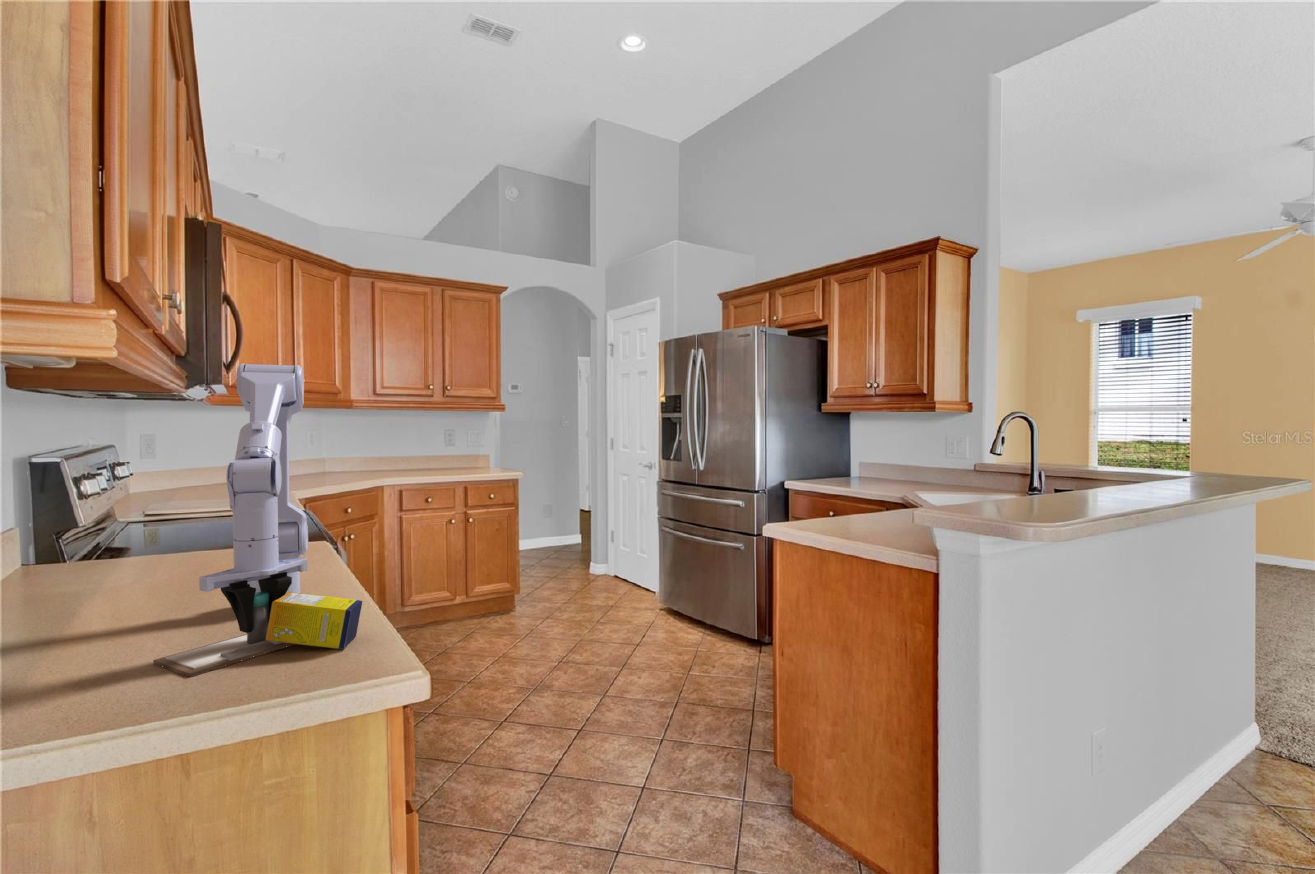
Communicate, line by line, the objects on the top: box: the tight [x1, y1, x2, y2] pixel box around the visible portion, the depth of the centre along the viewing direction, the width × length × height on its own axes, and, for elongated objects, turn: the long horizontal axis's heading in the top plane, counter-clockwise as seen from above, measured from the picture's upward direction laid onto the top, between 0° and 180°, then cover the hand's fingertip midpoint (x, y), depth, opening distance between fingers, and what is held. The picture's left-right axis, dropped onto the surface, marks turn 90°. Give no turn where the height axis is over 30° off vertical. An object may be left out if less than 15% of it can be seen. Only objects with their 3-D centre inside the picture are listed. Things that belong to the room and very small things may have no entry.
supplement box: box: [266, 592, 363, 650], centre depth 95 cm, size 6×6×11 cm
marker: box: [246, 592, 269, 644], centre depth 95 cm, size 3×3×7 cm
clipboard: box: [152, 633, 294, 678], centre depth 93 cm, size 10×16×1 cm, turn 151°
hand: (258, 628), depth 95 cm, fingers closed on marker, 3 cm apart
